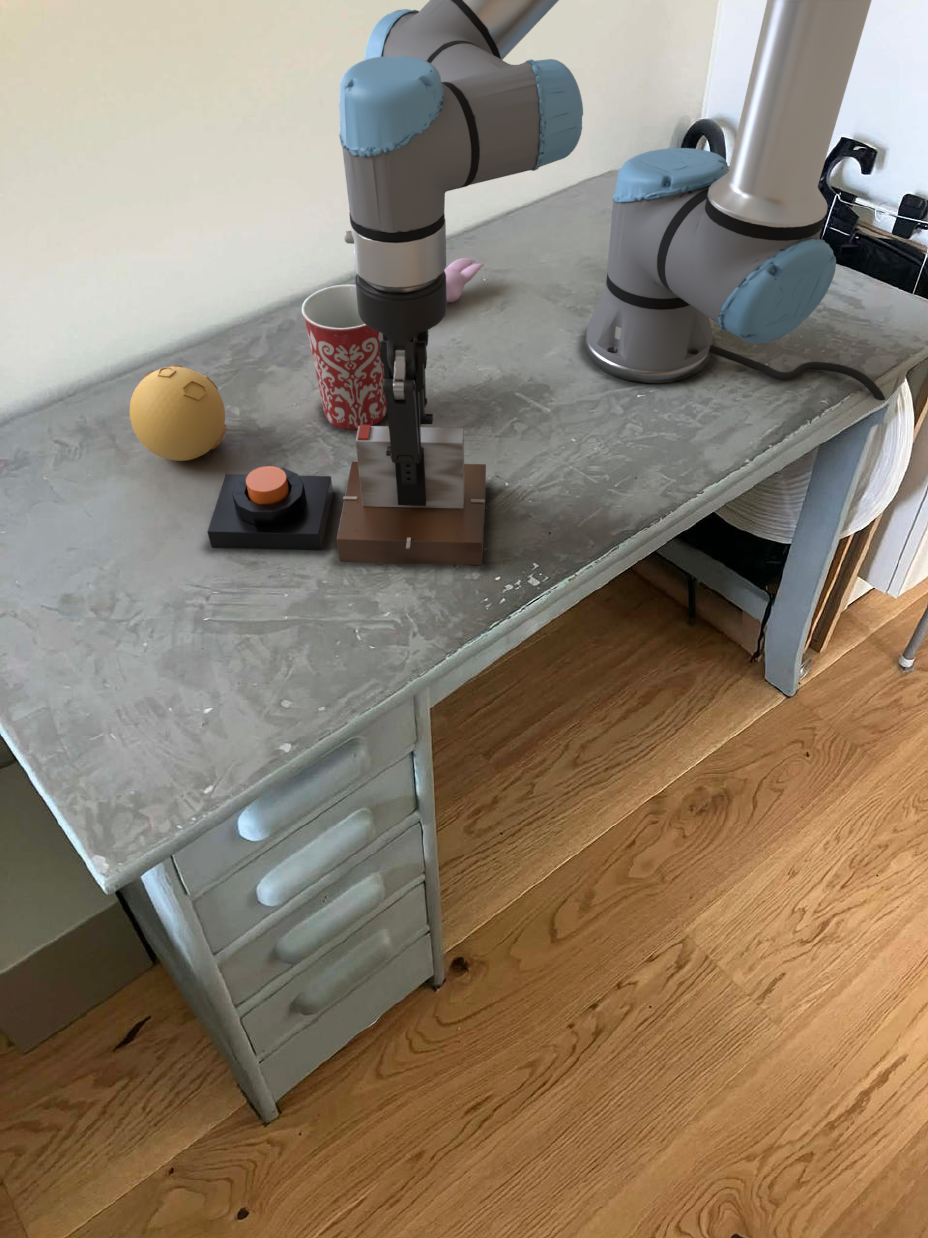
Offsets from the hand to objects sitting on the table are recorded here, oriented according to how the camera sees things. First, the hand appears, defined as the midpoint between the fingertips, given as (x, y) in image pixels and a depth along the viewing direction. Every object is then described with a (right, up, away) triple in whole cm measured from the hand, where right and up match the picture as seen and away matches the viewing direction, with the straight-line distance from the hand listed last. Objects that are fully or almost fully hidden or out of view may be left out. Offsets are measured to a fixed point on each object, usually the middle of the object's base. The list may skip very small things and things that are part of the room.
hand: (413, 492), depth 101 cm
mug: (-6, +12, +17) cm, 22 cm away
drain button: (-14, 0, +1) cm, 15 cm away
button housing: (-14, -2, +3) cm, 15 cm away
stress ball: (-25, +6, +12) cm, 29 cm away
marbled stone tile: (0, -1, +1) cm, 1 cm away
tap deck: (0, -3, +3) cm, 4 cm away
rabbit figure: (+2, +28, +32) cm, 43 cm away
